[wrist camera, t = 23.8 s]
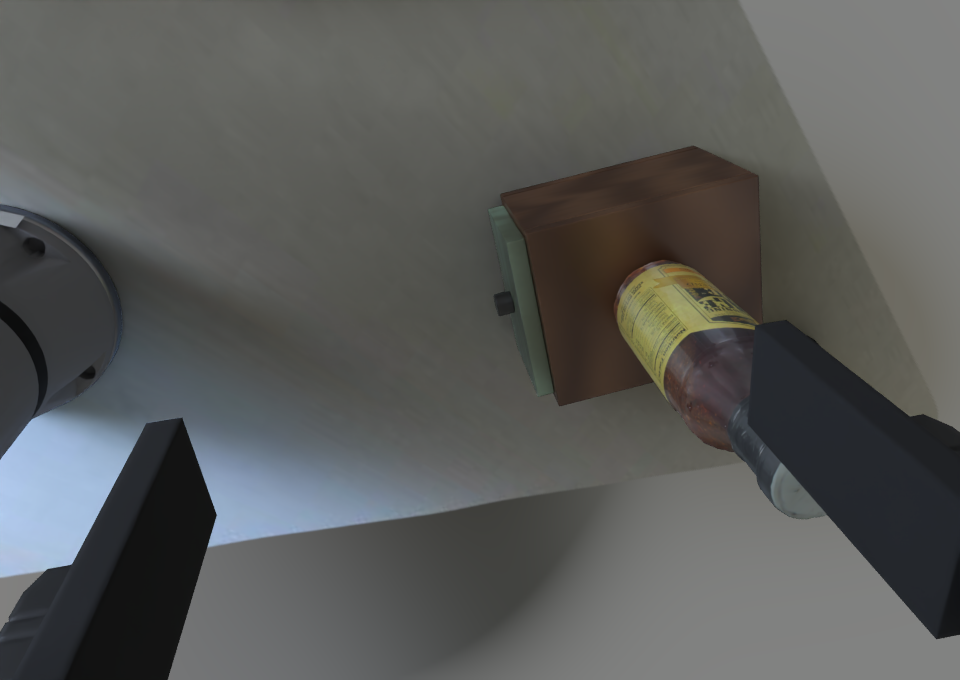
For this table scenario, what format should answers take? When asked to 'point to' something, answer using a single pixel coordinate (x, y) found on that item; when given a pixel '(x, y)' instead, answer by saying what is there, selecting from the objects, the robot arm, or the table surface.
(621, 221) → the cabinet
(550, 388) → the drawer
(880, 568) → the robot arm
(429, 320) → the table surface
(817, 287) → the table surface
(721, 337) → the sauce bottle
